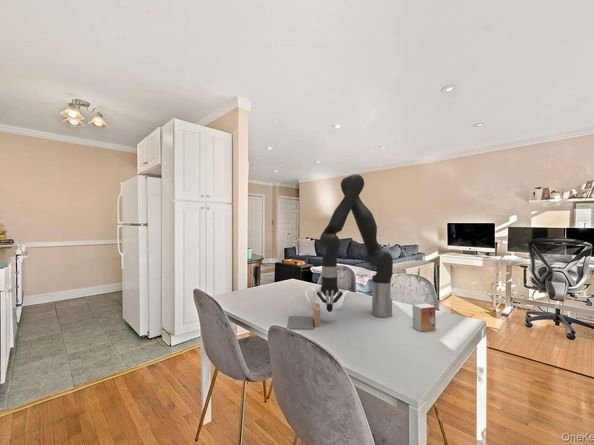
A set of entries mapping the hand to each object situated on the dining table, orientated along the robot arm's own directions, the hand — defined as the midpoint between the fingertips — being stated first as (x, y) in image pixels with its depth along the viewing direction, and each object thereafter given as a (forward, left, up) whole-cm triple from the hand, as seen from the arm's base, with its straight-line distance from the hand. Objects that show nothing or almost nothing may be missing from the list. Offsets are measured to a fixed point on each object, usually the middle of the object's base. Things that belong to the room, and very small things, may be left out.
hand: (329, 311), depth 128 cm
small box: (-42, +6, -6) cm, 43 cm away
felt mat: (+14, 0, -6) cm, 15 cm away
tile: (+6, 0, -6) cm, 8 cm away
